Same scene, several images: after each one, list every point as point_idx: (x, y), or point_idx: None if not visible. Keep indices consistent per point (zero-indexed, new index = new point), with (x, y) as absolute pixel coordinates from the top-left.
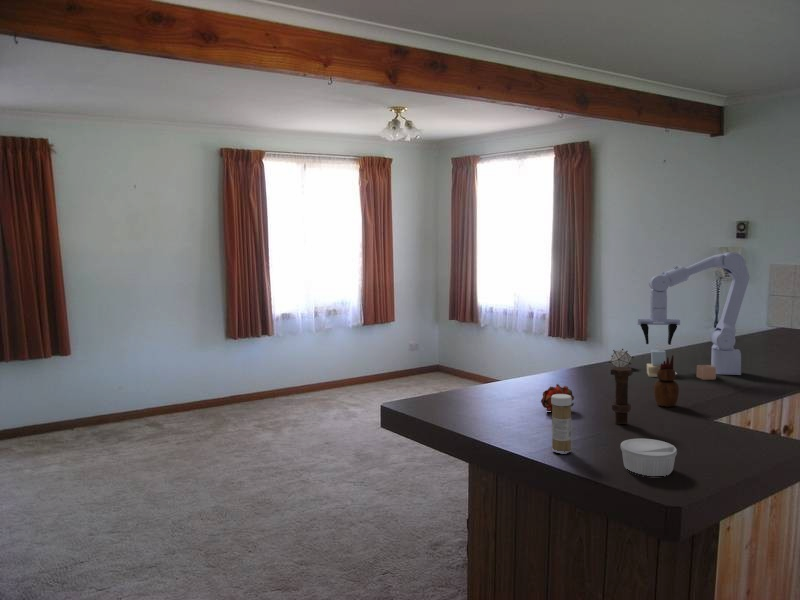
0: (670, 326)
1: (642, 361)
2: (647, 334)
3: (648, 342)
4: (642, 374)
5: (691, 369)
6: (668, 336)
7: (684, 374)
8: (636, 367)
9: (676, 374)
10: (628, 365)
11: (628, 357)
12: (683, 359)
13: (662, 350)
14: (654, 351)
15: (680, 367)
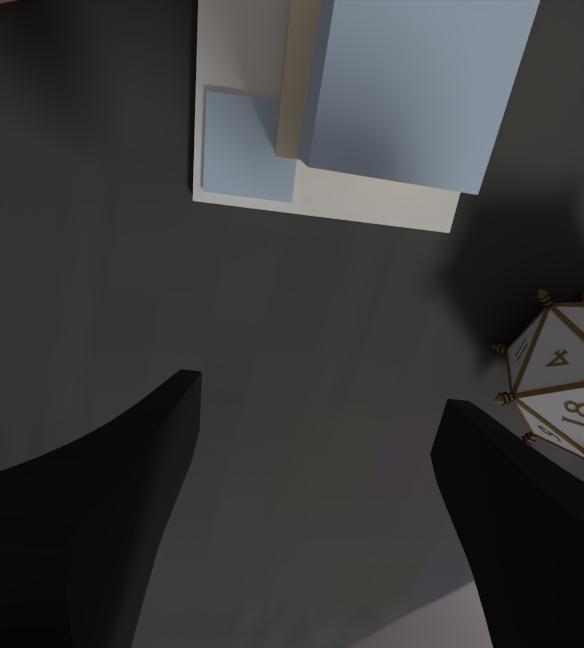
0: (59, 542)
1: (317, 571)
2: (541, 477)
3: (460, 405)
4: None
5: (72, 370)
6: (169, 502)
7: (141, 195)
8: (409, 423)
9: (214, 93)
10: (532, 324)
11: (574, 349)
12: None
13: (352, 95)
14: (490, 31)
15: None
